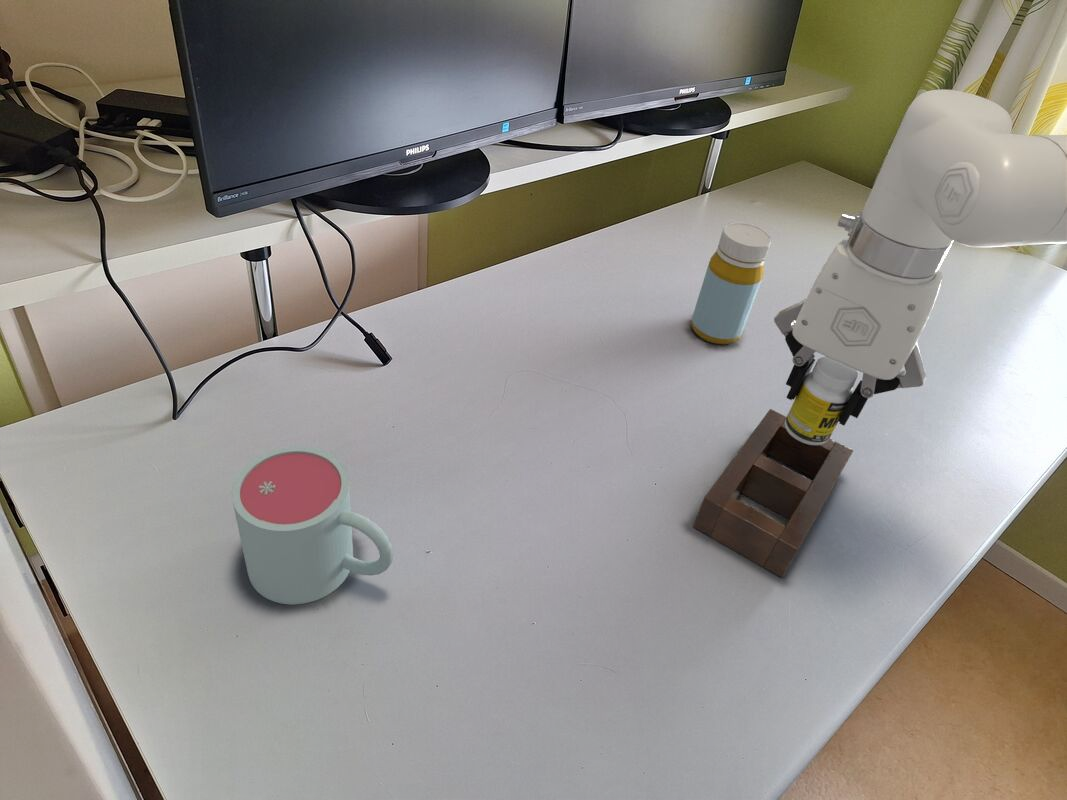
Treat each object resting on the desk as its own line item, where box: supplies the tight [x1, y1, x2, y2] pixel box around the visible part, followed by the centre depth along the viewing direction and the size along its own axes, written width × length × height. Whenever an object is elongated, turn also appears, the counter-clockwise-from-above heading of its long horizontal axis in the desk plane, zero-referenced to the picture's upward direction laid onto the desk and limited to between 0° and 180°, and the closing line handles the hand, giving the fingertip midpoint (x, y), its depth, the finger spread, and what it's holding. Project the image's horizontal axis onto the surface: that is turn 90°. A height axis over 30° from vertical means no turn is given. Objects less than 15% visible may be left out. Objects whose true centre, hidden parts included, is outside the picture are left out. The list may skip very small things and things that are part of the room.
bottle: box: [690, 221, 773, 345], centre depth 100 cm, size 7×7×15 cm
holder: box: [692, 408, 854, 578], centre depth 80 cm, size 10×18×4 cm, turn 145°
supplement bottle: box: [785, 355, 859, 445], centre depth 76 cm, size 5×5×8 cm
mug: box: [231, 445, 394, 605], centre depth 65 cm, size 14×9×10 cm
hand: (820, 403), depth 76 cm, fingers closed on supplement bottle, 4 cm apart
